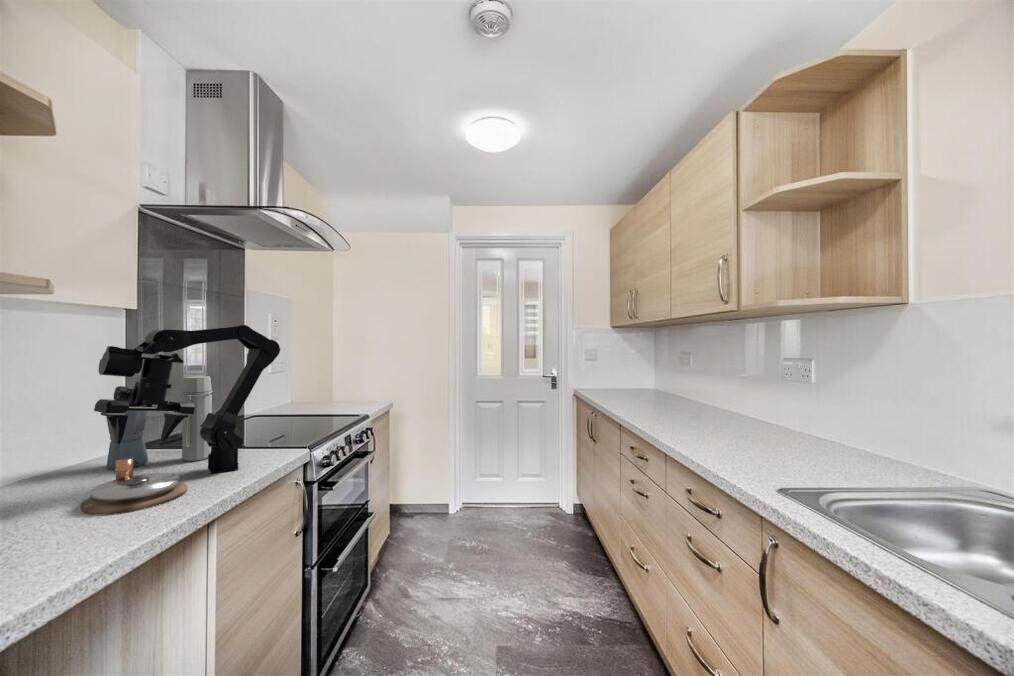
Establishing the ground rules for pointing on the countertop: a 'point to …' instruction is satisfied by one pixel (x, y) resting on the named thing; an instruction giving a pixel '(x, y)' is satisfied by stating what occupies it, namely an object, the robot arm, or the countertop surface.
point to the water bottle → (196, 417)
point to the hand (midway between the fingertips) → (141, 442)
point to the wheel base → (132, 502)
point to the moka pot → (129, 441)
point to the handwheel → (133, 484)
